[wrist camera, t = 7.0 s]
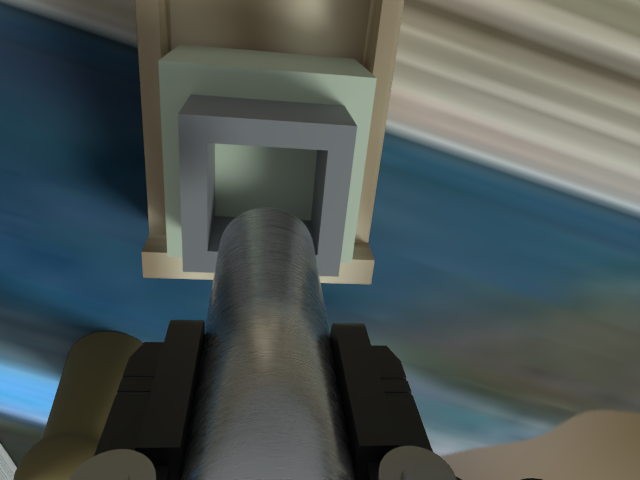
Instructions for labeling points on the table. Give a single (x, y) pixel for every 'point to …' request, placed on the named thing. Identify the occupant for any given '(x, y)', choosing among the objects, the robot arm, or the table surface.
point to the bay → (273, 36)
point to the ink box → (6, 465)
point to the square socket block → (262, 146)
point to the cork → (79, 406)
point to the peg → (267, 362)
